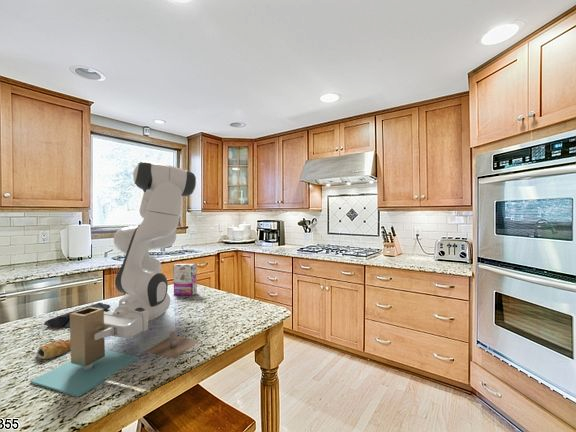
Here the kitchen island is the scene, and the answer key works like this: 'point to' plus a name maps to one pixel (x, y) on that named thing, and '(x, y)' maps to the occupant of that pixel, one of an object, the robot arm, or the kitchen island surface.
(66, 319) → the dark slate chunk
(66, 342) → the pastry
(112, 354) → the teal hub plate
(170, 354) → the walnut stand
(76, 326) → the bronze sleeve
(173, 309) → the kitchen island surface
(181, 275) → the candy bar box
